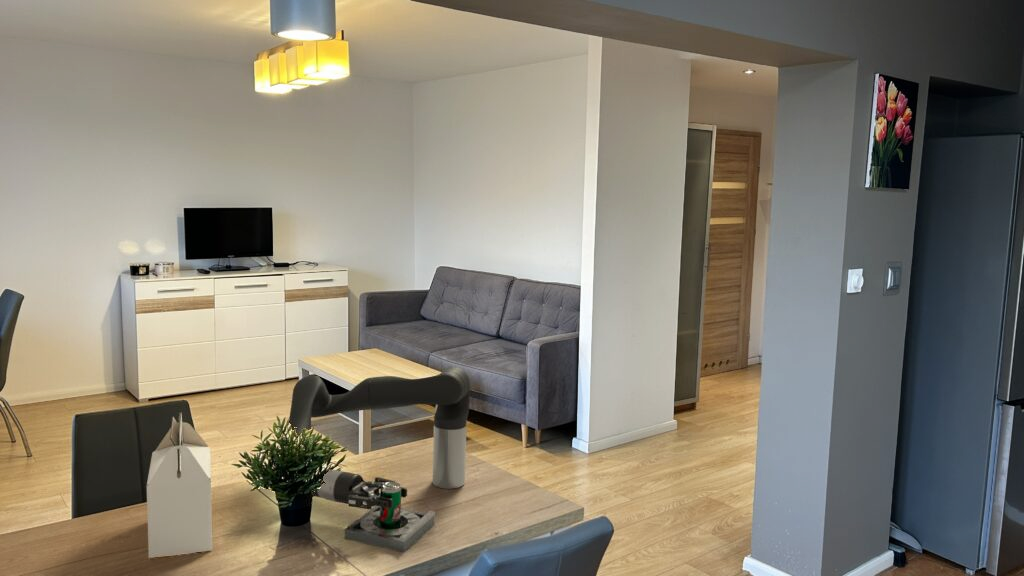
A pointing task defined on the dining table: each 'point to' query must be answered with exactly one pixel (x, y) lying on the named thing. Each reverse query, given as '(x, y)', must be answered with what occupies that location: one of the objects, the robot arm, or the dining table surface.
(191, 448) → the gable box
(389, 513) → the soda can
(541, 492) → the dining table surface
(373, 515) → the jig
